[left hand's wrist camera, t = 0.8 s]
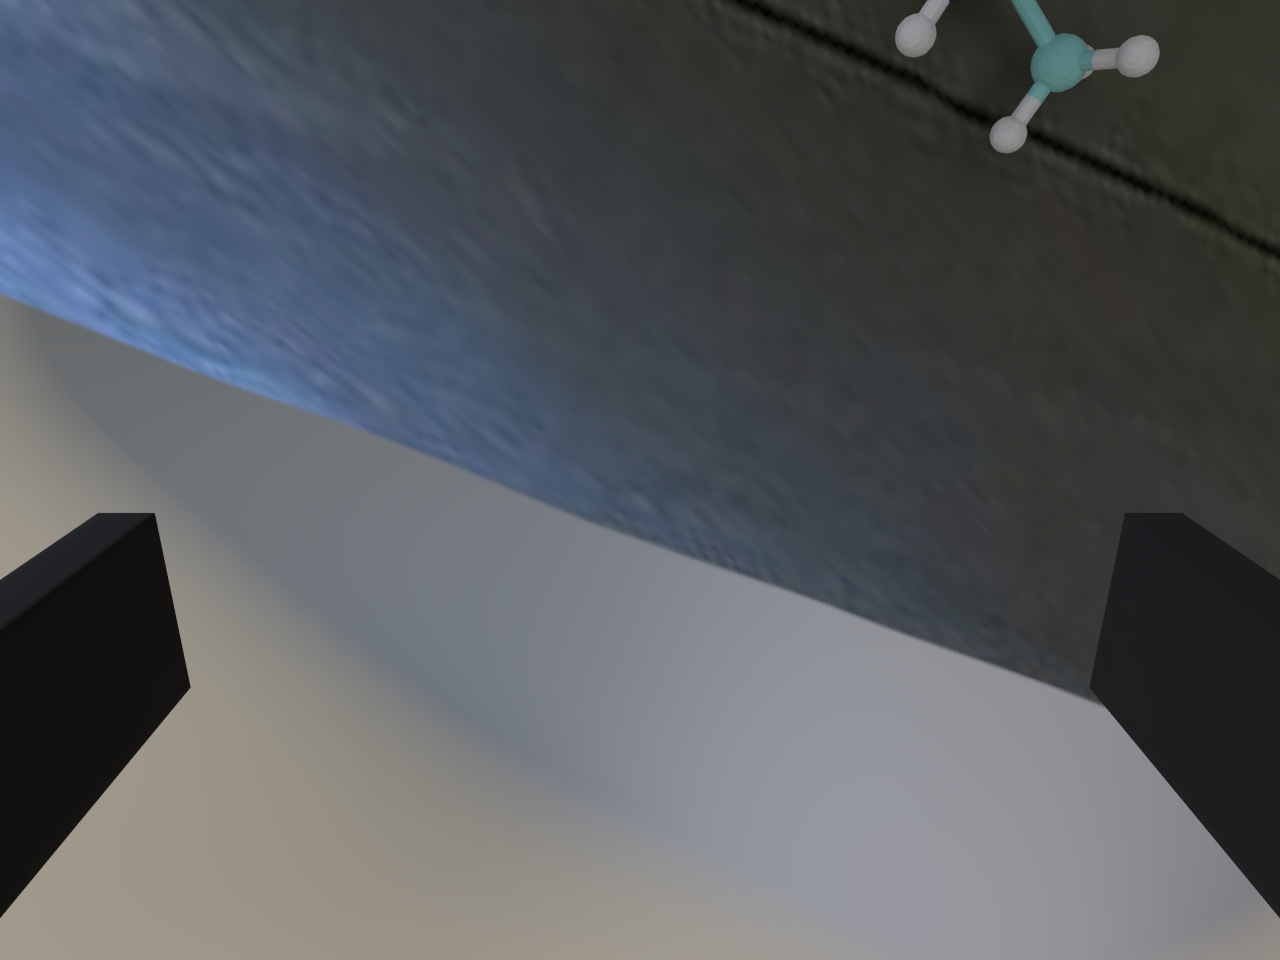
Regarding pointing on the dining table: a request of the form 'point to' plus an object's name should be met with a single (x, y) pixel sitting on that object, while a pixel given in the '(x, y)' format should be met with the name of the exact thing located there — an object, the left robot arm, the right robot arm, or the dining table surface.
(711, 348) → the dining table surface
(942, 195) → the dining table surface
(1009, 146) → the molecular model
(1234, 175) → the dining table surface
